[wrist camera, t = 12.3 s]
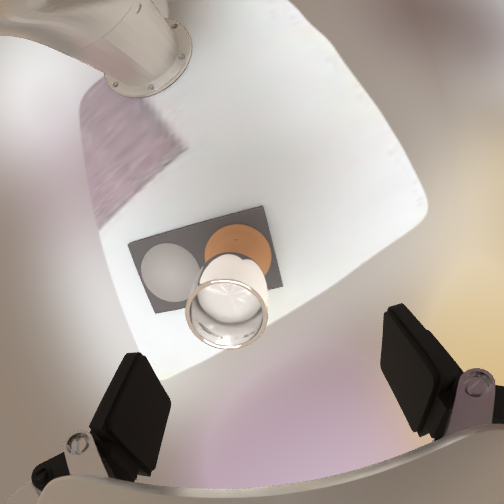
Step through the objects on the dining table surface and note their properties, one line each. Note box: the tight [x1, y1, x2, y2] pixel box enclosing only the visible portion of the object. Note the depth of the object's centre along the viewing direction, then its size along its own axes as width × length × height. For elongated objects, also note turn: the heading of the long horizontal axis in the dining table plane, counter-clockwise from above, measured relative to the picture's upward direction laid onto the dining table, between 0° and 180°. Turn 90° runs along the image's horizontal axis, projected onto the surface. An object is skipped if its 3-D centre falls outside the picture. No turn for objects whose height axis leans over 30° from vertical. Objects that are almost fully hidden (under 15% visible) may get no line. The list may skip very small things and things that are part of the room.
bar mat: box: [128, 206, 283, 314], centre depth 36 cm, size 11×19×1 cm, turn 105°
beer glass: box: [185, 233, 268, 349], centre depth 28 cm, size 7×7×15 cm
